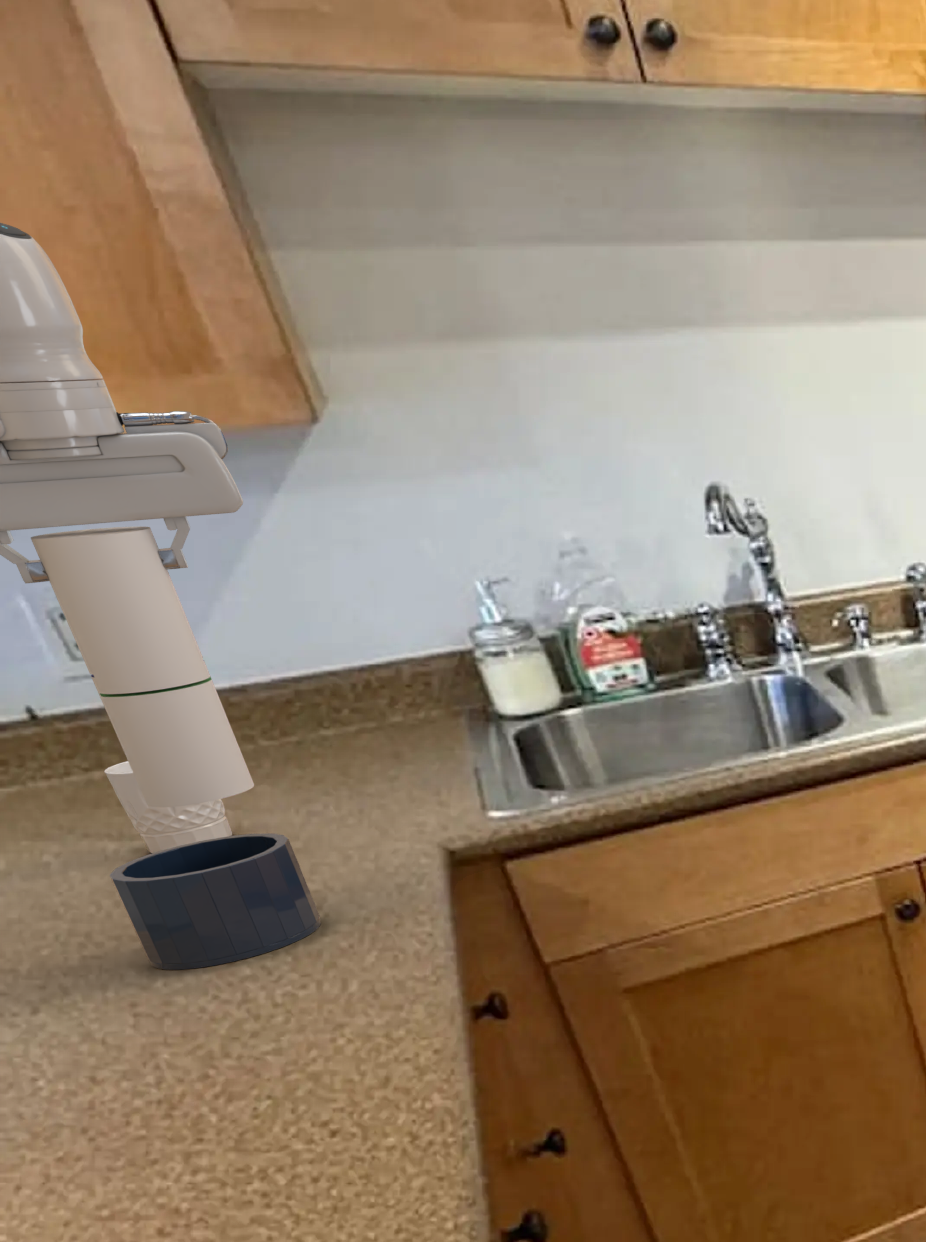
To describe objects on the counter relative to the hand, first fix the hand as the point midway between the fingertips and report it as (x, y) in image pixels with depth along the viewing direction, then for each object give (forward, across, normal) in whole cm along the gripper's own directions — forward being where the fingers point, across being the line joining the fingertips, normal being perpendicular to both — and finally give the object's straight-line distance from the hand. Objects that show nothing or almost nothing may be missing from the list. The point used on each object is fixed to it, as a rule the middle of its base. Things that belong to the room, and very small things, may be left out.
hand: (108, 575), depth 118 cm
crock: (+35, +1, +4) cm, 35 cm away
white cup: (+35, +5, -37) cm, 52 cm away
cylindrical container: (+21, 0, 0) cm, 21 cm away
